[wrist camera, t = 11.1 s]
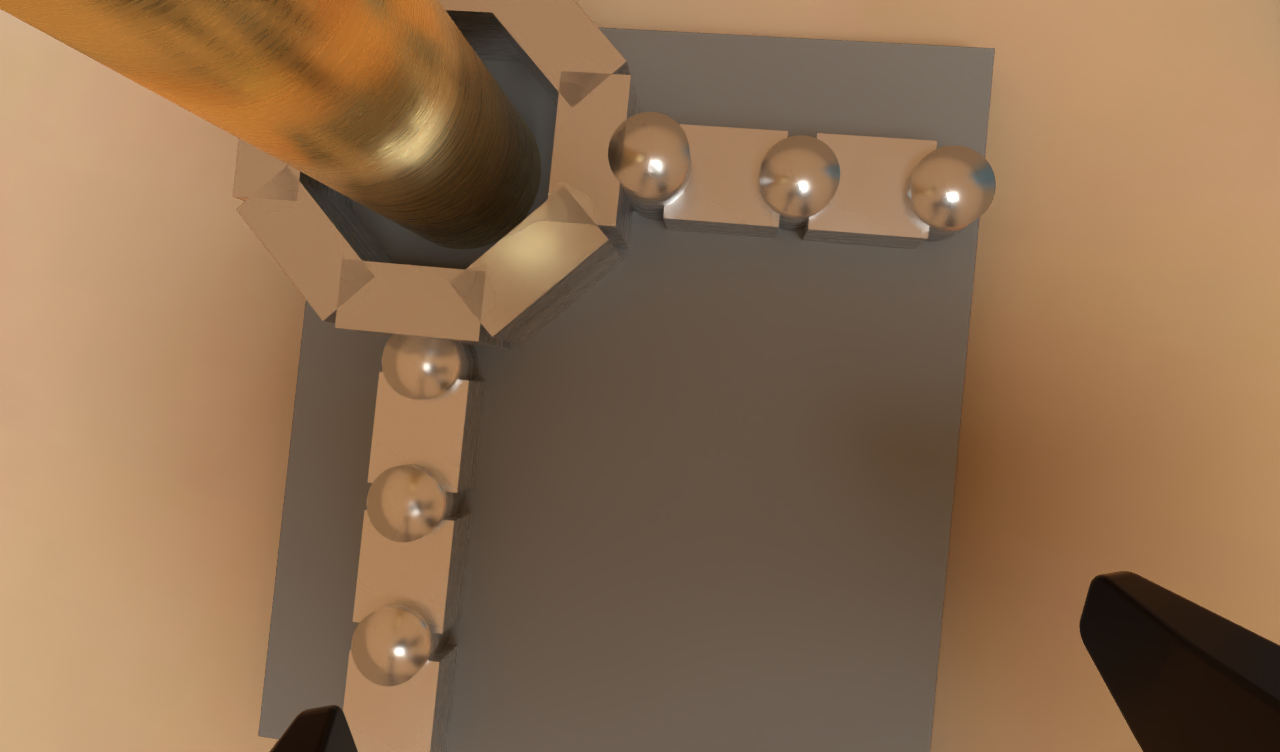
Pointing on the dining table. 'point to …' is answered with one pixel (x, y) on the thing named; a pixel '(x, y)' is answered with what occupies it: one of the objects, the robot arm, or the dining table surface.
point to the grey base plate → (682, 452)
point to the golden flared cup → (331, 97)
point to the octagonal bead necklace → (543, 303)
